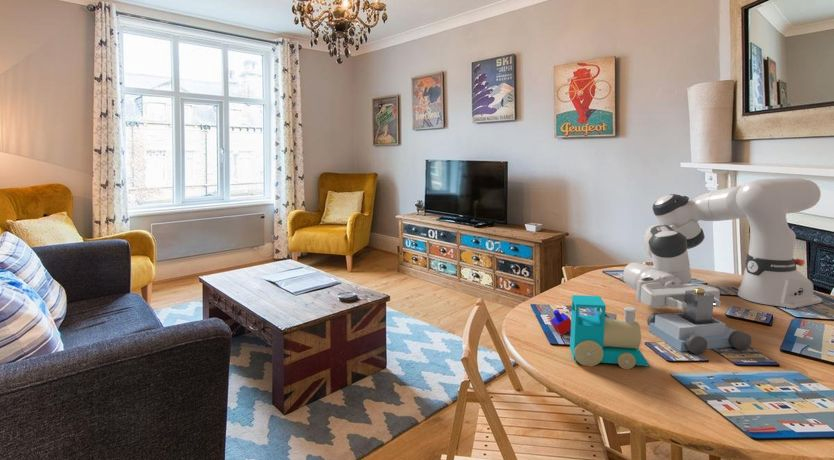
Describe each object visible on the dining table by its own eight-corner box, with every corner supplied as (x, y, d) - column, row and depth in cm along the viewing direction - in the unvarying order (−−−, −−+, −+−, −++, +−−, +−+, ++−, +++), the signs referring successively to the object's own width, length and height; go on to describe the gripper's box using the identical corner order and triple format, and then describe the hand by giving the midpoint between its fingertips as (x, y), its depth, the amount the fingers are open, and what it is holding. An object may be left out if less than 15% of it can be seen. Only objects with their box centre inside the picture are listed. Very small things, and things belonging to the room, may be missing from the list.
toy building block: (557, 335, 121) (546, 312, 119) (570, 327, 122) (558, 304, 120) (563, 340, 118) (552, 317, 116) (576, 332, 118) (565, 309, 116)
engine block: (697, 325, 116) (701, 286, 113) (710, 332, 111) (714, 291, 109) (681, 326, 115) (685, 287, 113) (694, 333, 111) (698, 292, 109)
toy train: (650, 371, 98) (655, 309, 95) (574, 365, 102) (576, 305, 99) (640, 355, 106) (644, 296, 103) (569, 350, 109) (571, 294, 106)
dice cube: (593, 334, 118) (594, 317, 117) (596, 327, 122) (597, 310, 121) (613, 337, 115) (614, 320, 114) (615, 331, 119) (616, 314, 119)
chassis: (702, 323, 123) (704, 305, 121) (753, 349, 107) (755, 328, 106) (644, 328, 120) (645, 309, 119) (686, 355, 105) (688, 334, 104)
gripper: (696, 296, 126) (736, 313, 113) (631, 301, 124) (664, 319, 110) (698, 275, 125) (738, 290, 112) (632, 280, 123) (666, 296, 109)
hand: (701, 305), depth 111 cm, fingers open, 8 cm apart
